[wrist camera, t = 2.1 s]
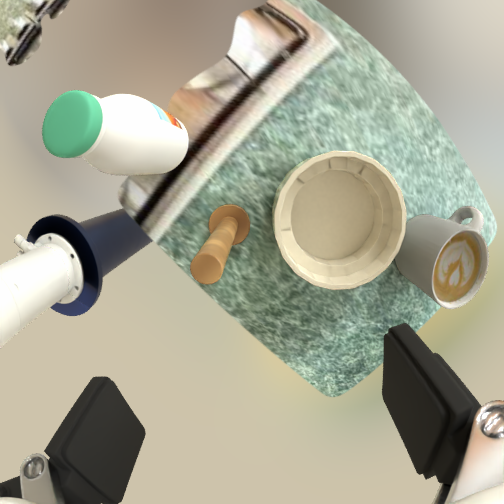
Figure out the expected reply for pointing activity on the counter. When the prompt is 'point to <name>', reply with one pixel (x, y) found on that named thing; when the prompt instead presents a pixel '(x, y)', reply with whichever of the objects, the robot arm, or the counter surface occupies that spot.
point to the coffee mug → (445, 256)
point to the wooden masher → (220, 242)
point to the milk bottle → (115, 133)
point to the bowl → (339, 219)
